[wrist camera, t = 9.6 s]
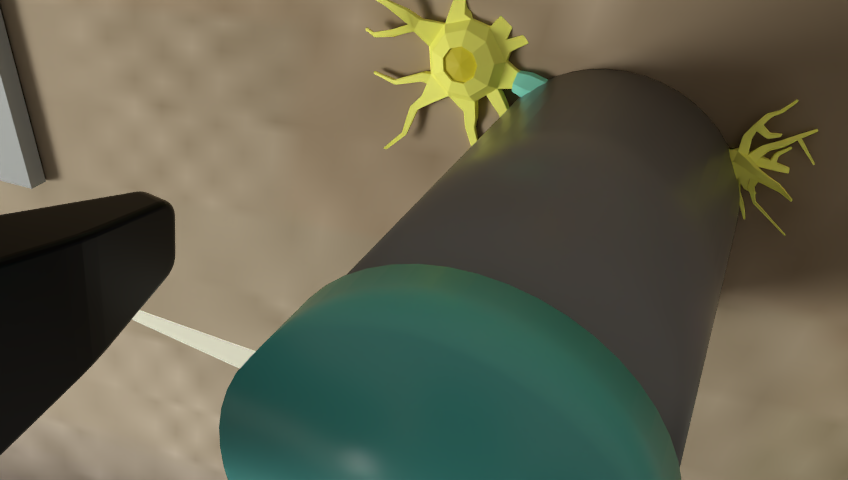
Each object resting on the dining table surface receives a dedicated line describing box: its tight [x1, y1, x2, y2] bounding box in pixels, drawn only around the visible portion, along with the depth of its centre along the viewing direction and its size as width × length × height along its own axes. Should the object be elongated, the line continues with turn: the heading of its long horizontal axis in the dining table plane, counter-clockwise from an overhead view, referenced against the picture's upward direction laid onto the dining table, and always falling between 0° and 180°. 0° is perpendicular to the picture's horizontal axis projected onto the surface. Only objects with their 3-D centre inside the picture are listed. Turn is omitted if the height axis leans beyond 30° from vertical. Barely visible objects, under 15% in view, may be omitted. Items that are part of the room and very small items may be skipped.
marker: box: [219, 69, 740, 480], centre depth 10 cm, size 4×4×7 cm
